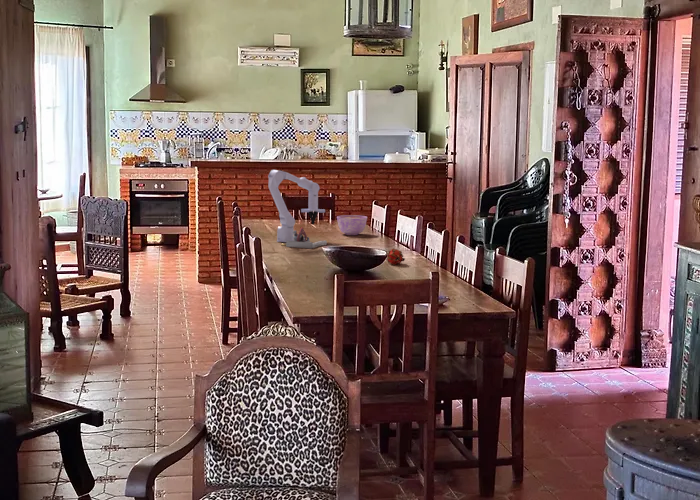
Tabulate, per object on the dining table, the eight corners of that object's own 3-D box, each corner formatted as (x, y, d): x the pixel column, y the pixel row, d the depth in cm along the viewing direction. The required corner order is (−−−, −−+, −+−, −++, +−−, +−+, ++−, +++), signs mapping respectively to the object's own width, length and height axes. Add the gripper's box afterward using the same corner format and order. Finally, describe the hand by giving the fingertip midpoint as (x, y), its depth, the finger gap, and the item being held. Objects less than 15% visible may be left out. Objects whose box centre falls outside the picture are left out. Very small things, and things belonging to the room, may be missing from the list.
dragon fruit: (393, 264, 445) (398, 272, 434) (381, 255, 443) (386, 262, 431) (403, 252, 444) (409, 259, 433) (391, 243, 441) (396, 249, 430)
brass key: (283, 246, 497) (283, 244, 497) (280, 245, 499) (280, 244, 499) (291, 245, 502) (291, 243, 502) (288, 244, 504) (288, 242, 504)
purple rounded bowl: (331, 235, 548) (331, 217, 546) (343, 231, 566) (343, 214, 565) (360, 237, 541) (360, 219, 539) (371, 233, 559) (371, 216, 557)
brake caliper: (307, 243, 490) (296, 226, 491) (294, 254, 494) (283, 237, 496) (316, 241, 500) (305, 224, 501) (303, 251, 504) (292, 235, 506)
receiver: (283, 246, 495) (283, 240, 494) (297, 242, 512) (297, 236, 511) (314, 248, 487) (314, 242, 487) (327, 244, 505) (327, 238, 504)
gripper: (300, 202, 516) (300, 224, 518) (324, 202, 516) (324, 225, 518) (301, 201, 523) (301, 223, 525) (325, 201, 523) (325, 223, 525)
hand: (313, 224), depth 522 cm, fingers closed
